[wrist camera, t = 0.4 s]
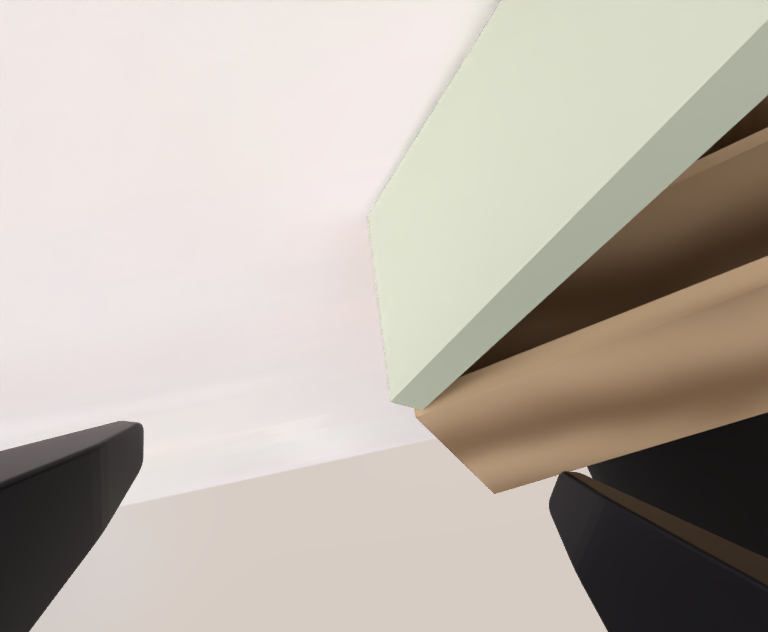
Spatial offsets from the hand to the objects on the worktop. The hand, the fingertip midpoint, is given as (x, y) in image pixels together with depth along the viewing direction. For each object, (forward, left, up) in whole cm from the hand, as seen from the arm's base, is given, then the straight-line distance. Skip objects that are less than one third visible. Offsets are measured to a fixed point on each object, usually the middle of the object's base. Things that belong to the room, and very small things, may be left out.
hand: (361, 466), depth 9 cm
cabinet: (+8, +8, -14) cm, 18 cm away
